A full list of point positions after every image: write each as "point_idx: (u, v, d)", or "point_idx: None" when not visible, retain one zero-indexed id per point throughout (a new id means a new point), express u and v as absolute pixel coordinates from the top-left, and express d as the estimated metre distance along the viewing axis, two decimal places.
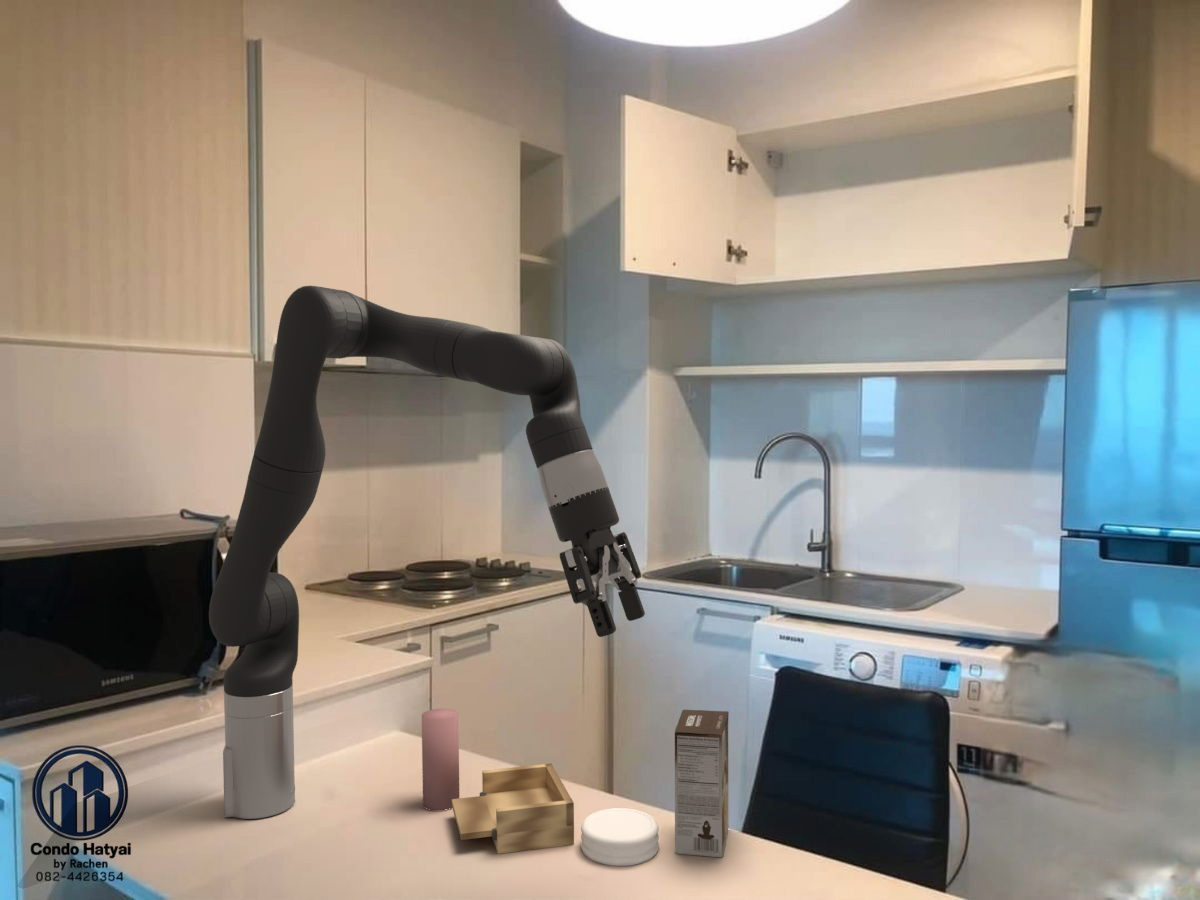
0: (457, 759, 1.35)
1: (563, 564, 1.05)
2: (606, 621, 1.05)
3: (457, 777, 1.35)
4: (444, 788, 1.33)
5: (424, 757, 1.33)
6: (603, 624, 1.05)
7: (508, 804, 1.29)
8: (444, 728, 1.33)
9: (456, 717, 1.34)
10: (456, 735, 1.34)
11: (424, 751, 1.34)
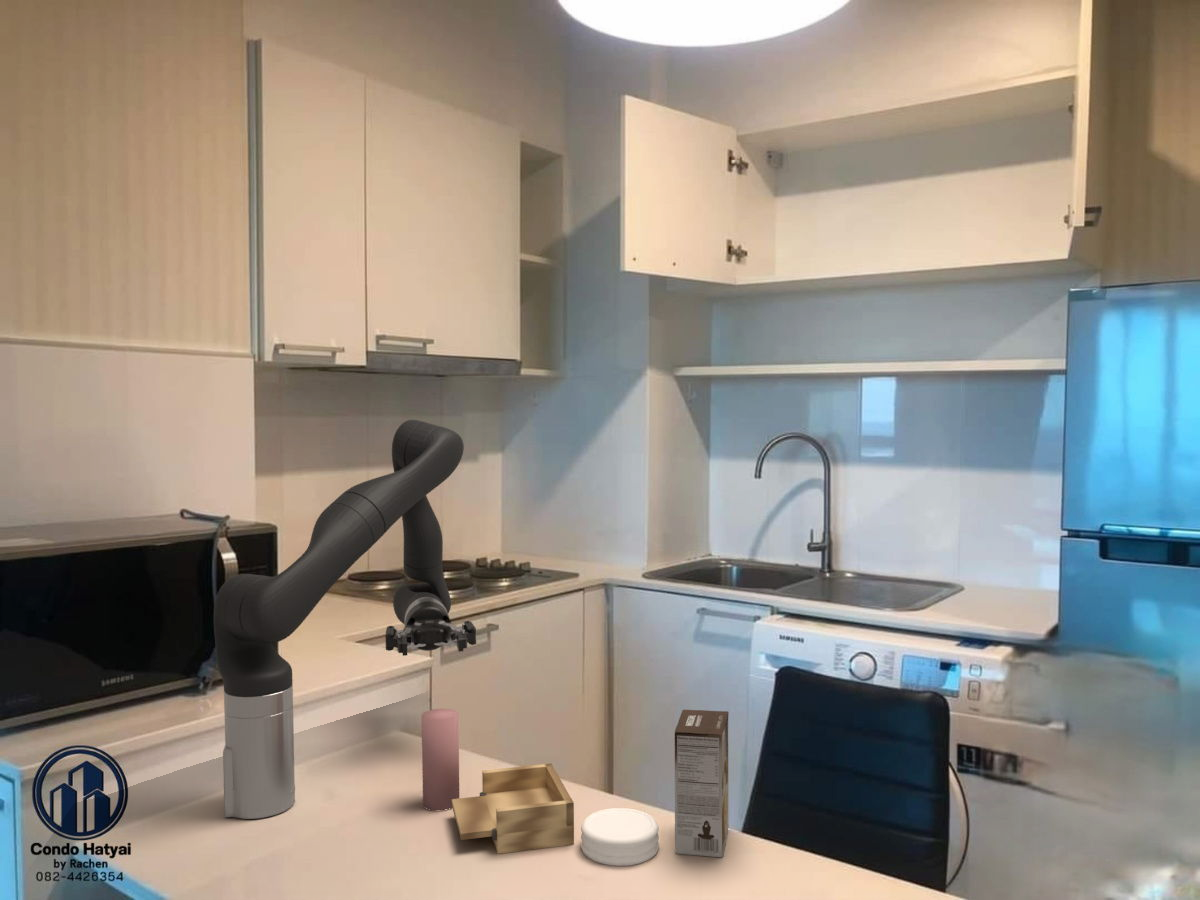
0: (457, 759, 1.35)
1: (471, 623, 1.55)
2: None
3: (457, 777, 1.35)
4: (444, 788, 1.33)
5: (424, 757, 1.33)
6: (466, 645, 1.47)
7: (508, 804, 1.29)
8: (444, 728, 1.33)
9: (456, 717, 1.34)
10: (456, 735, 1.34)
11: (424, 751, 1.34)
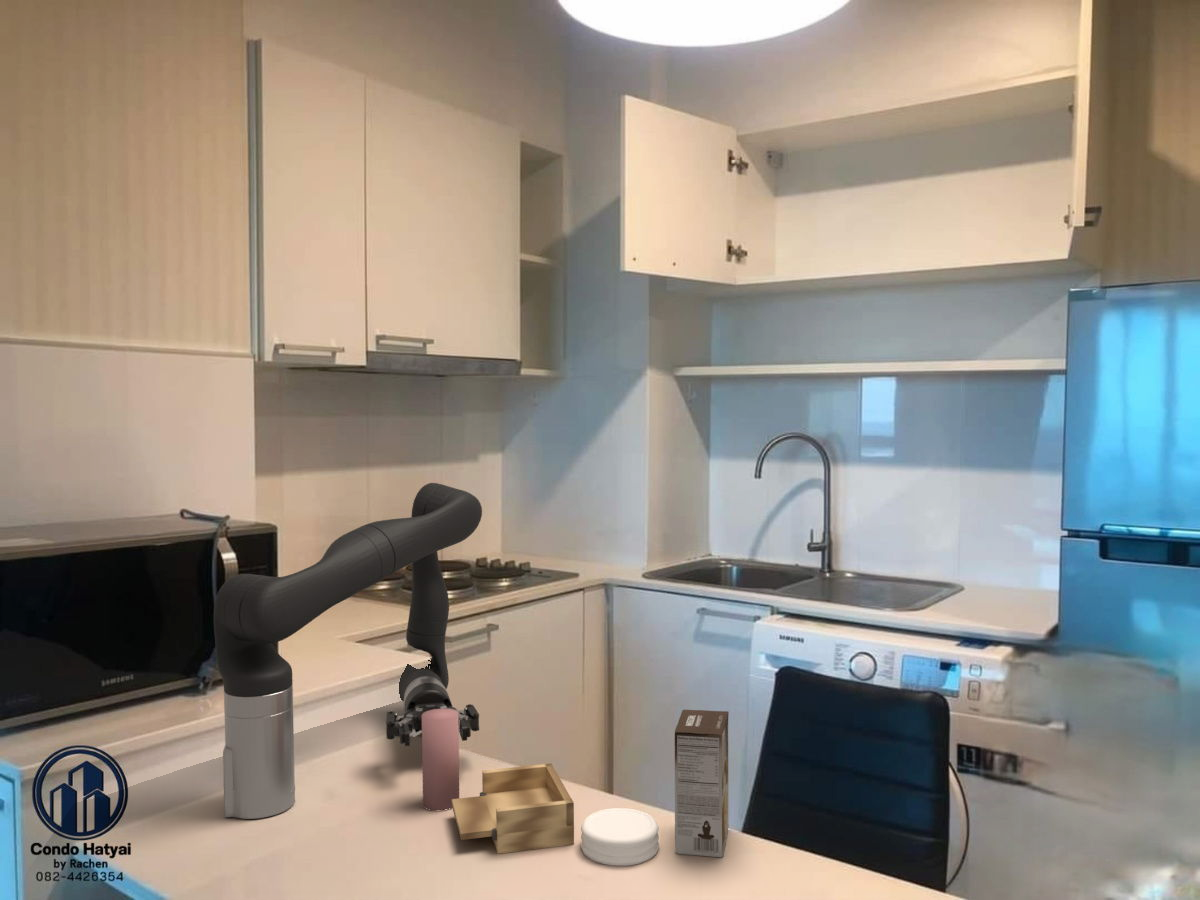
0: (457, 759, 1.35)
1: None
2: None
3: (457, 777, 1.35)
4: (444, 788, 1.33)
5: (424, 757, 1.33)
6: (470, 733, 1.44)
7: (508, 804, 1.29)
8: (444, 728, 1.33)
9: (456, 717, 1.34)
10: (456, 735, 1.34)
11: (424, 751, 1.34)
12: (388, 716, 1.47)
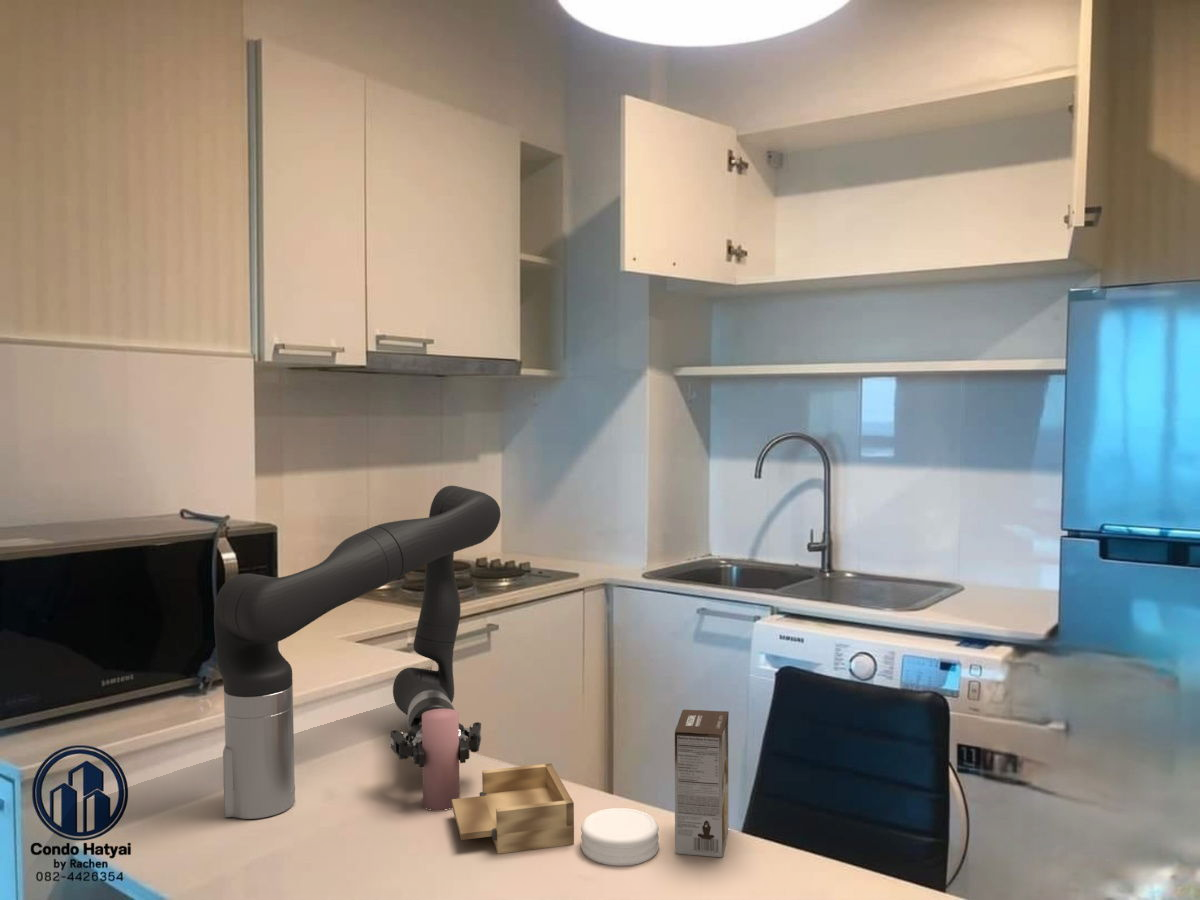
0: (457, 759, 1.35)
1: (480, 726, 1.43)
2: None
3: (457, 777, 1.35)
4: (444, 788, 1.33)
5: (424, 757, 1.33)
6: (469, 755, 1.35)
7: (508, 804, 1.29)
8: (444, 728, 1.33)
9: (456, 717, 1.34)
10: (456, 735, 1.34)
11: (424, 751, 1.34)
12: (395, 735, 1.39)
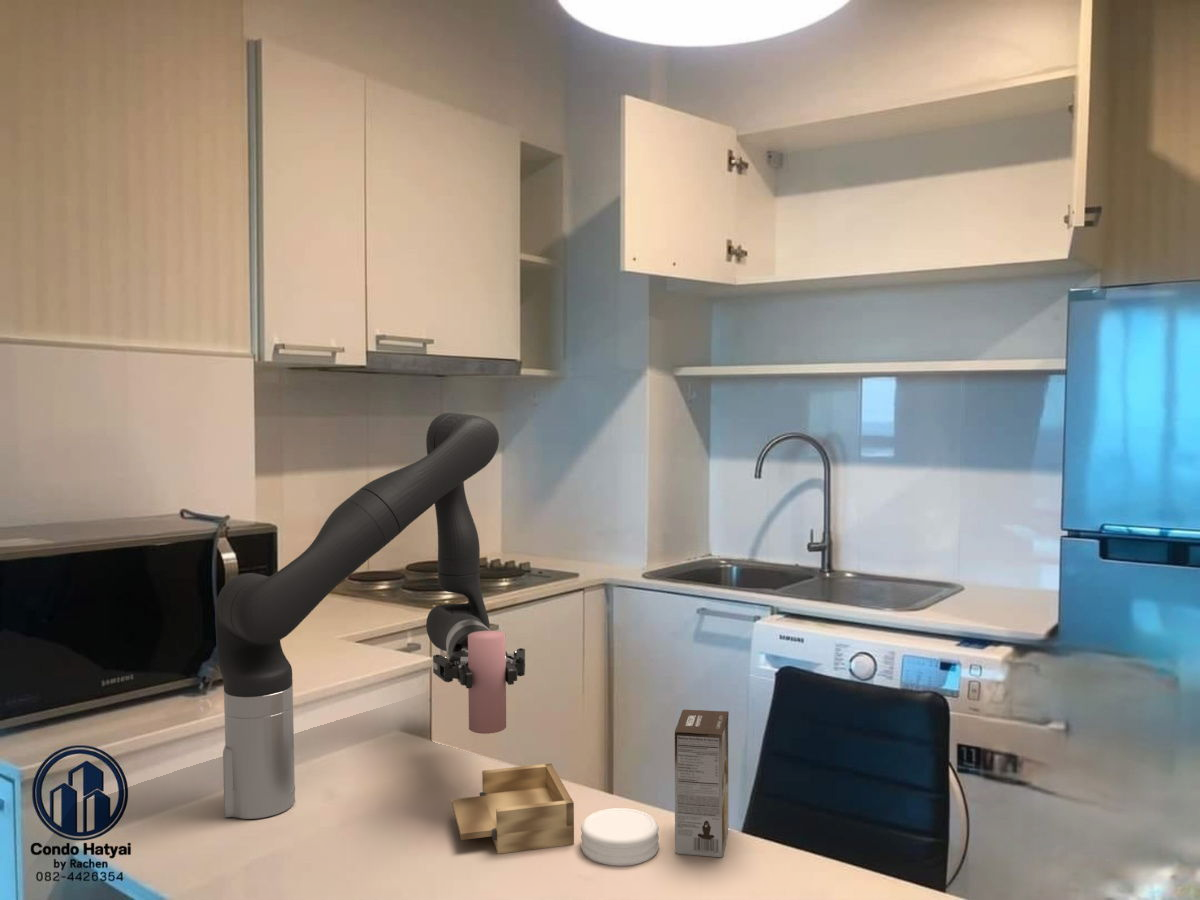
0: (504, 681, 1.31)
1: (524, 652, 1.39)
2: None
3: (504, 699, 1.31)
4: (492, 710, 1.29)
5: None
6: None
7: (508, 804, 1.29)
8: (492, 648, 1.29)
9: (504, 637, 1.30)
10: (504, 656, 1.30)
11: None
12: (439, 659, 1.34)
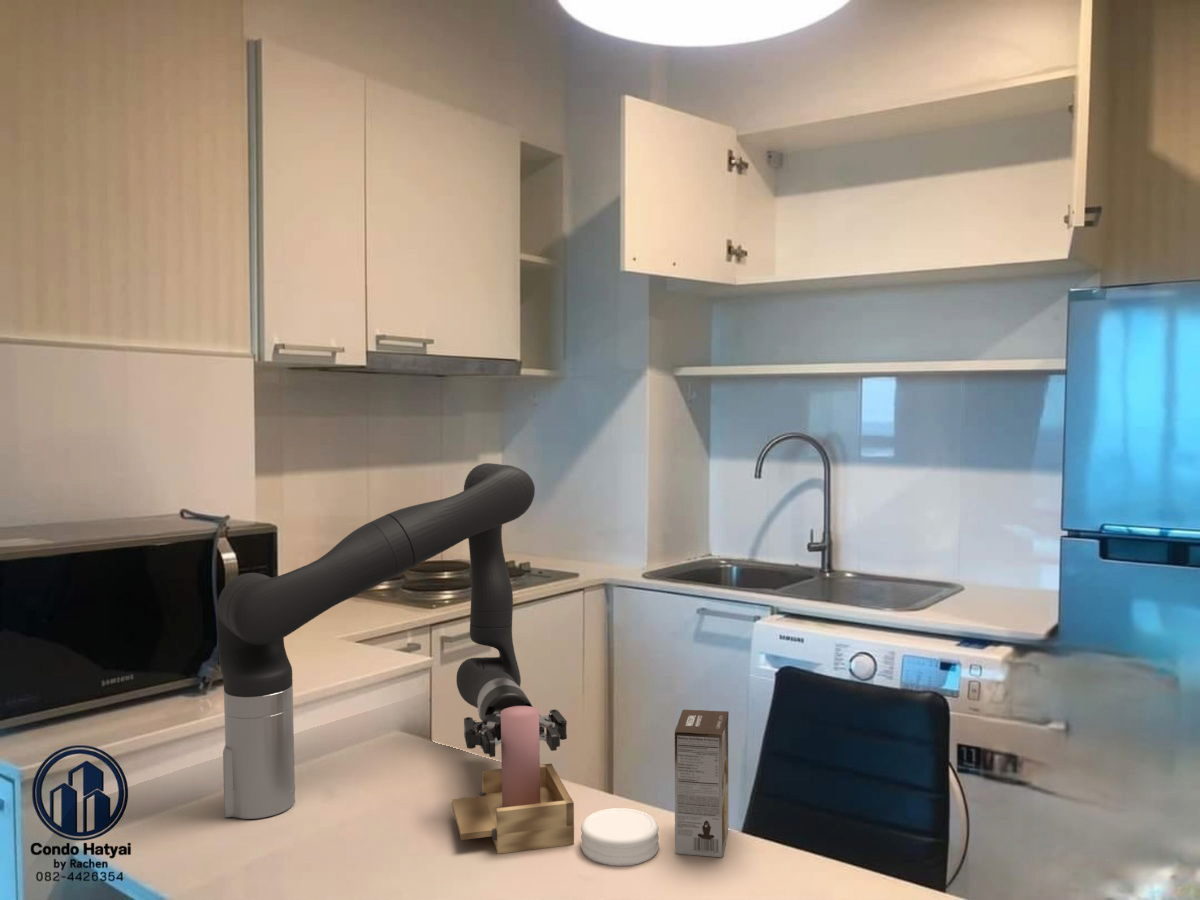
0: (538, 759, 1.28)
1: None
2: None
3: (538, 778, 1.28)
4: (526, 789, 1.26)
5: (504, 757, 1.26)
6: None
7: None
8: (526, 726, 1.26)
9: (537, 714, 1.27)
10: (537, 733, 1.27)
11: (504, 750, 1.27)
12: (467, 723, 1.32)
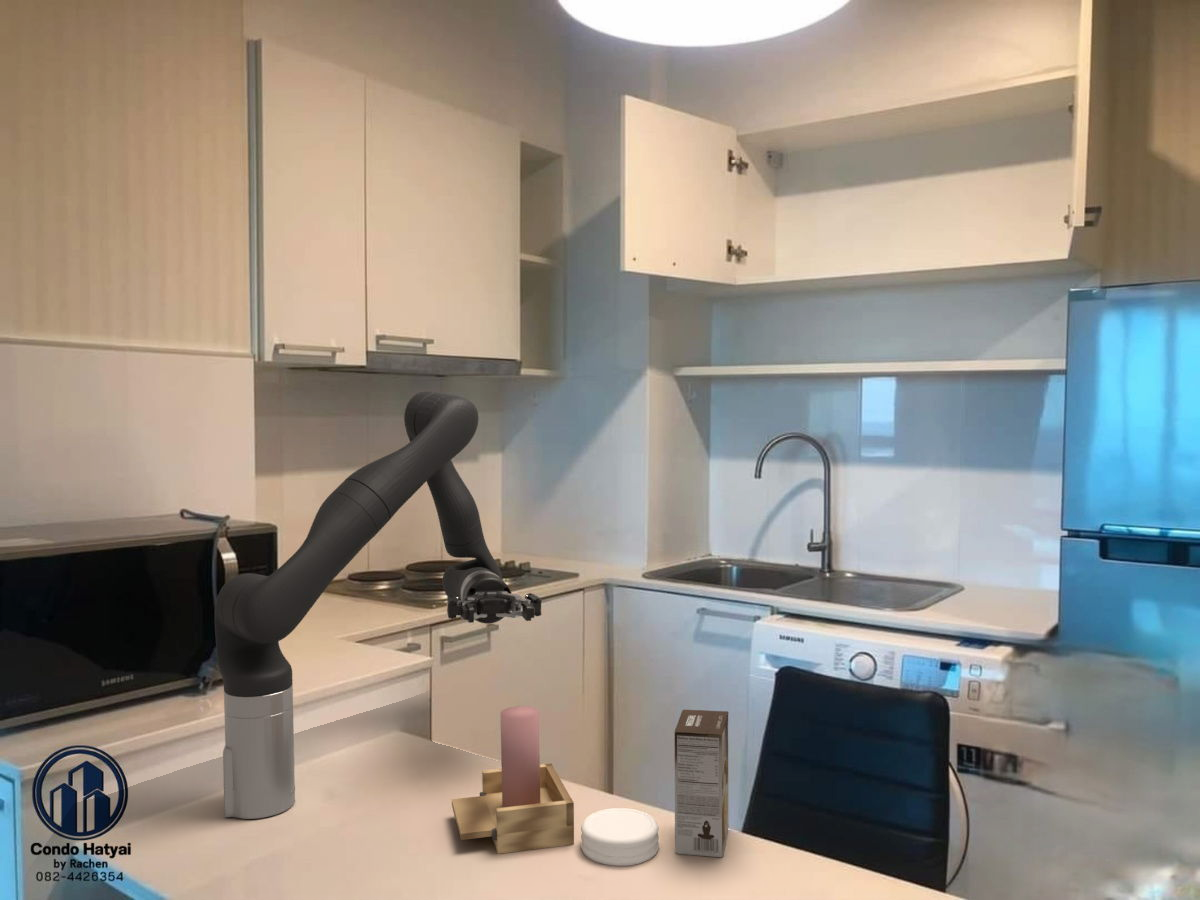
0: (538, 759, 1.28)
1: (535, 596, 1.49)
2: None
3: (538, 778, 1.28)
4: (525, 790, 1.26)
5: (504, 758, 1.26)
6: None
7: None
8: (525, 727, 1.25)
9: (537, 715, 1.27)
10: (537, 734, 1.27)
11: (504, 751, 1.26)
12: (449, 598, 1.44)
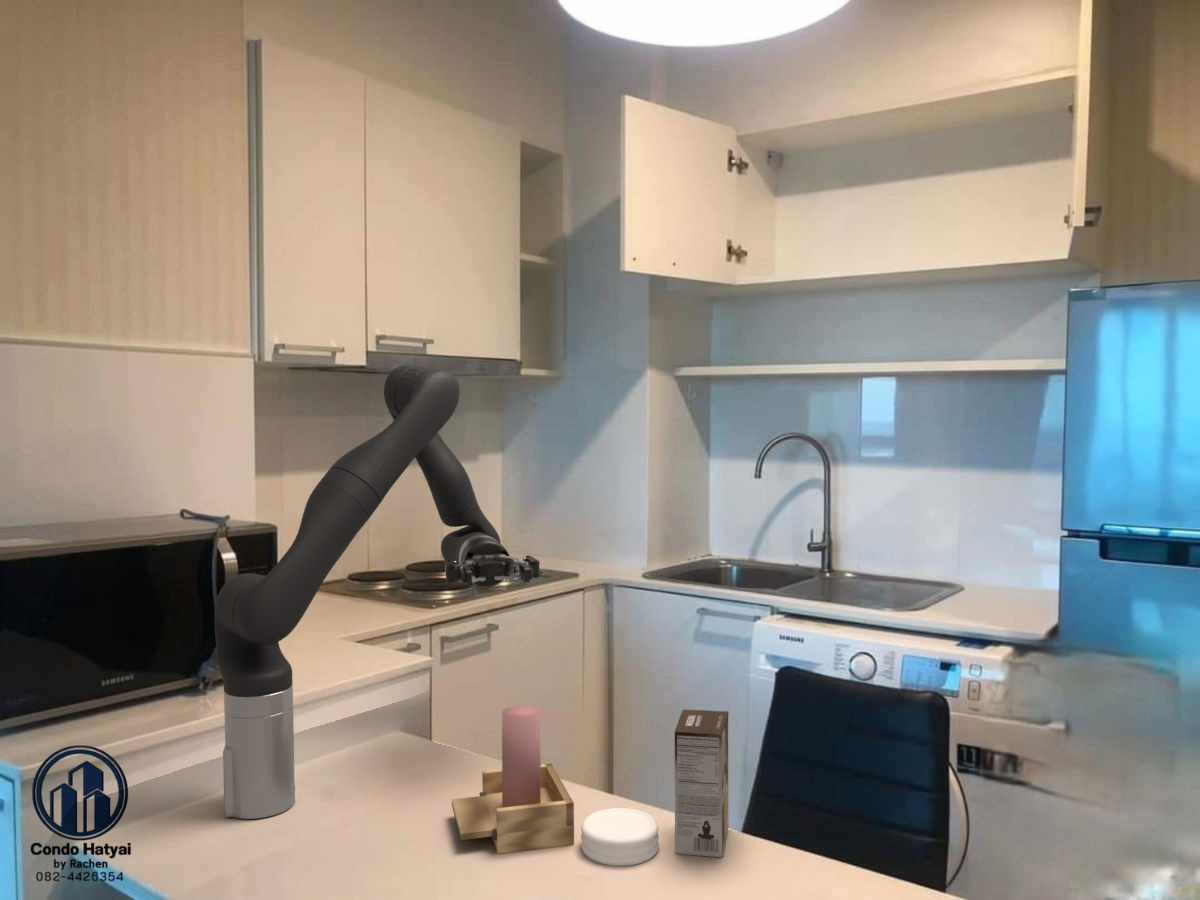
0: (539, 759, 1.28)
1: (533, 558, 1.49)
2: None
3: (539, 778, 1.28)
4: (526, 789, 1.26)
5: (505, 757, 1.27)
6: None
7: None
8: (527, 726, 1.26)
9: (538, 715, 1.27)
10: (538, 734, 1.27)
11: (505, 750, 1.27)
12: (447, 562, 1.44)
